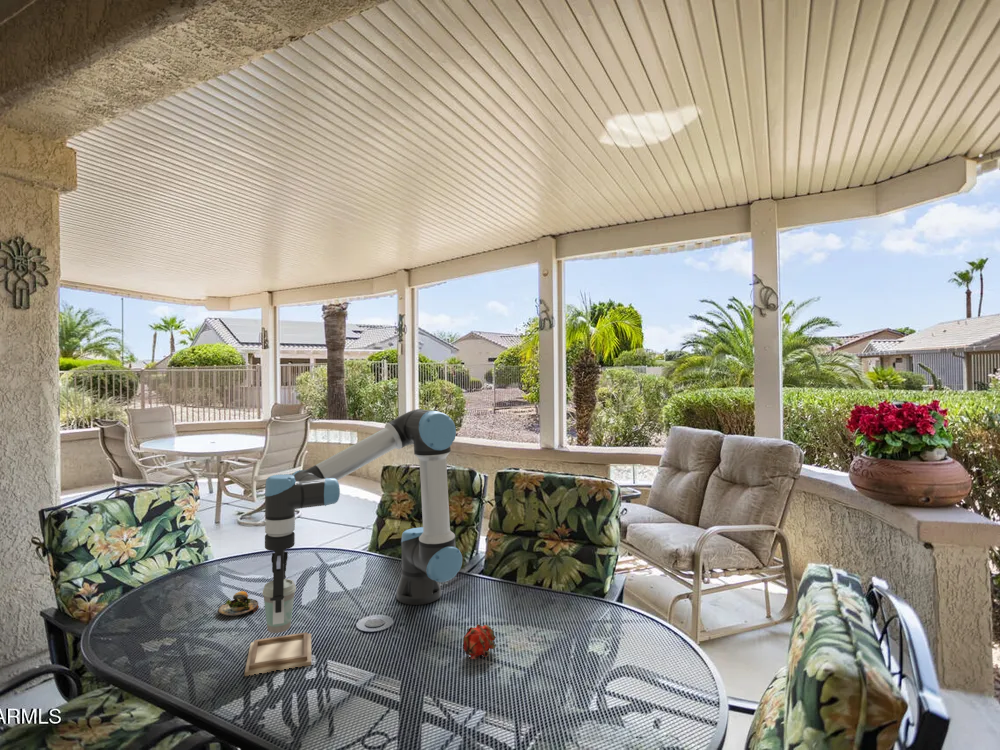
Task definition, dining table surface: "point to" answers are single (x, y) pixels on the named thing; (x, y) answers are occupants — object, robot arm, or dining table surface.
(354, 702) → the dining table surface
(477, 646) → the dragon fruit
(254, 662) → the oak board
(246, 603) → the burger
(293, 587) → the coffee cup
